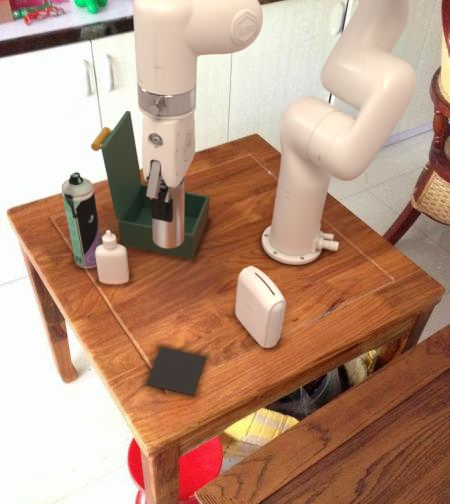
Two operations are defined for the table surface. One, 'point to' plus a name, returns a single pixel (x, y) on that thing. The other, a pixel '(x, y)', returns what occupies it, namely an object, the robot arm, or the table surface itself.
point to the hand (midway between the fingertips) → (168, 206)
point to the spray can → (82, 219)
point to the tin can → (172, 231)
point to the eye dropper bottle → (112, 261)
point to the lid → (120, 162)
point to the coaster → (176, 371)
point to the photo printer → (260, 306)
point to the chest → (140, 223)
